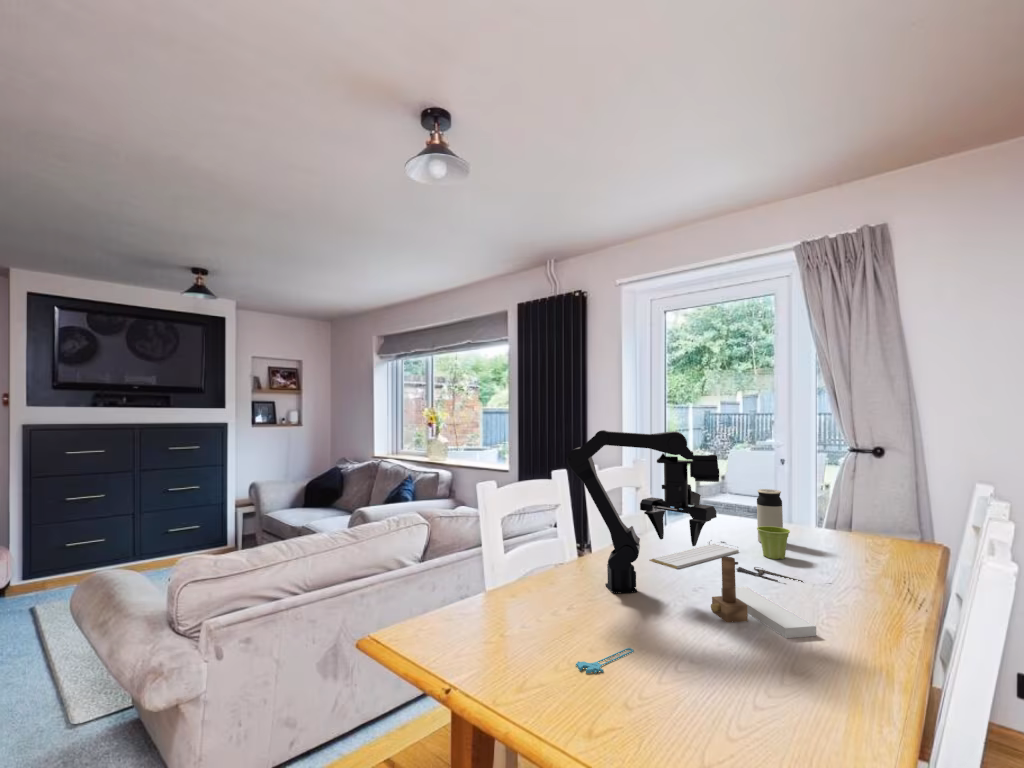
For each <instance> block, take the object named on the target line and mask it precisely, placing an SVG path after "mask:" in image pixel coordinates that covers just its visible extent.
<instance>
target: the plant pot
mask: <svg viewBox="0 0 1024 768" xmlns="http://www.w3.org/2000/svg"><path fill="white" fill-rule="evenodd" d="M756 531H757V532H758V531H759V534H760V539H761V542H760V543H761V548H762V549H761V550H762V555H763V557H766V558H768V559H772V560H779V559H781V560H784V559H785V558H786V554H787V553H786V551H787V544H788V537H789V534H790V533H791V530H790V529H788V528H785V527H783V528H780V527H773V526H761V527H758V526H756Z"/></svg>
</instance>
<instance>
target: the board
mask: <svg viewBox="0 0 1024 768" xmlns="http://www.w3.org/2000/svg"><path fill="white" fill-rule="evenodd" d="M720 592H721V595H722V587H721V591H720ZM736 598H737V599H738V600H740V601H742V602H743V603H745V604H746V605H747V613H748V615H749V616H751V617H753V618H754V619H756V620H757V621H759V622H760V623H761V624H764V625H765V626H766V627H768V628H770V629H771V630H772V631H774V632H776V633H777V634H779V635H780V636H782V637H783V638H784V639H789V638H790V639H793V638H805V637H806V638H807V637H816V636H817V625H815V624H814V623H812V622H810V621H808V620H807V619H805V618H803V617H801V616H800V615H798V614H796V613H795V612H793V611H791V610H789V609H787V608H785V607H784V606H782V605H780V604H779V603H777V602H775V601H773V600H771V599H770V598H767V596H765V595H762V594H761V593H759V592H758V591H755V590H754V589H752V588H751V587H749V586H736Z"/></svg>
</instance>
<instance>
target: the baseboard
mask: <svg viewBox="0 0 1024 768" xmlns="http://www.w3.org/2000/svg"><path fill="white" fill-rule="evenodd" d="M710 542H712V539H711V540H710V541H708V544H706V545H702V546H698V547H695V548H690V549H685V550H682V551H681V550H680V551H678V552H677V551H676V552H673V553H670V554H665V555H662V556H657V557H653V558H650V559H649V561H651V562H653V563H656V564H659V565H663V566H666V567H669V568H672V569H675V570H678V569H683V568H686V567H688V566H689V567H690V566H693V565H696V564H700V563H704V562H708V561H711V560H715V559H720V558H722V557H728V556H729V555H733V554H737V553H740V552H739V548H737V549H736V547H737V546H735V545H734V547H735V548H733V545H731V544H730V546H732V547H729V544H727V543H726V542H725V541H720V543H722V544H724V545H720V544H717V543H710ZM725 544H726V545H727V546H725Z"/></svg>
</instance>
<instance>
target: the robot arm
mask: <svg viewBox="0 0 1024 768" xmlns="http://www.w3.org/2000/svg"><path fill="white" fill-rule="evenodd" d="M604 446H612V447H613V446H614V447H625V448H627V447H628V448H640V449H649V450H654V451H657V452H661V455H660V456H659V457H658V458H657V459H656V463H657V464H663V474H664V484H661V490H664V499H663V498H659V497H652V496H651V497H647V498H643V499H642V500H641V501H640V503H639V510H640V511H643V512H644V515H647V517H648V519H649V520H650V522H651V525H652V526H653V528H654V529H655V532H656V534H657V536H658V539H659V540H663V539H664V537H665V536H664V535H665V533H664V530H665V529H664V527H665V526H664V517H665V513H666V511H668V512H674V513H679V514H680V513H681V514H686V515H687V514H688V515H689V516H690V517H691V518H690V519H689V520H688V521H689V533H690V534H689V535H690V542H691V546H692V547H696V545H697V543H698V540H699V538H700V534H701V532H702V530H703V527H704V525H705V524H706V523H708V522H710V521H712V519H716V518H717V509H716V508H715V506H713V505H707V504H702V503H701V504H700V502H701V494H700V493H698V492H696V491H693V490H692V486H691V484H689V478H688V474H690V475H689V476H690V478H693V479H694V482H705V483H706V482H707V483H708V482H709V483H711V482H712V483H719V482H720V468H719V462H718V455H717V454H707V455H706V454H694V451H693V450H691V449H690V448H689V447H688V441H687V439H686V437H685V435H684V434H682V433H681V432H680V431H674V430H673V431H663V432H657V433H641V432H640V433H638V432H624V431H623V432H622V431H610V430H605V429H601V430H599V431H597V432H596V433H595V434H594V436H592V437H591V438H590V439H589V440H588V441H586V442H585V443H584V444H583V445H581V446H579V447H576V448H574V449H571V450H570V451H569V453H568V454H567V457H566V463H567V466H568V467H569V468H570V470H571V471H572V472H573V473H574V474H575V476H576V477H577V478H579V480H580V481H581V482H582V483H583V484H584V486H585V488H586V490H587V492H588V494H589V496H590V497H591V499H592V501H593V503H594V505H595V506H596V508H597V511H598V512H599V514H600V516H601V517H602V520H603V522H604V523H605V525H606V527H607V529H608V530H609V531H608V532H609V533H610V538H611V542H612V545H613V548H614V549H613V550H611V552H610V554H609V557H608V559H607V564H606V566H607V568H606V571H607V582H606V583H605V587H606V588H608V590H609V591H610V592H611V593H612V594H626V593H627V594H628V593H637V592H638V590H637V571H635V566H634V565H633V564H632V563H634V562H635V561H637V559H638V558H639V555H640V547H641V538H640V537H639V536H638V535H637V534H636V531H635V528H634V526H633V525H631V526H630V527H627V525H626V524H625V523H624V522H623V521H622V519H621V517H620V515H619V513H618V512H617V510H616V508H615V506H614V504H613V502H612V500H611V499H610V497H609V495H608V493H607V491H606V489H605V488H604V485H603V484H602V482H601V480H600V478H599V476H598V473H597V469H596V466H595V463H594V460H593V456H594V455H595V454H597V453H598V452H599V451H600V450H601V449H602V448H603V447H604ZM666 454H669V455H673V456H668V455H667V456H666ZM679 456H680V457H682V458H683V459H684V460H683V459H679ZM688 465H689V471H688ZM688 472H689V473H688Z"/></svg>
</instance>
